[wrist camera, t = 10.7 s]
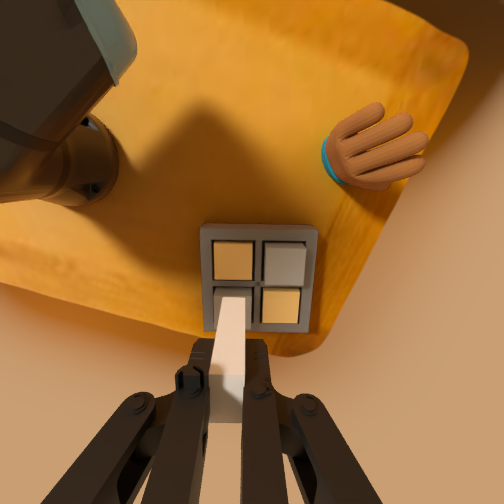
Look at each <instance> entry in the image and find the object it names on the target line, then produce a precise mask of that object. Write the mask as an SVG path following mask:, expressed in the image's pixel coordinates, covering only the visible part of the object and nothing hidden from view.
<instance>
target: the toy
mask: <svg viewBox="0 0 504 504" xmlns="http://www.w3.org/2000/svg"><path fill="white" fill-rule="evenodd" d="M384 113H385V111H384V107H383V105H382V104H381V103H378V102H375V103H372V104H370V105H368V106H366V107H364V108H363V109H361V110H359V111H357V112H356V113H354V114H352V115H350V116H349V117H347V118H345V119H344V120H342V121H341V122H339V123H338V124H337V125H336V126H335V127H334V129H333V130H332V131H331V133H330V135H329V136H328V137H327V138H326V139H325V141H324V142H323V145H322V153H321V154H322V161H323V165H324V167H325V169H326V171H327V173H328V174H329V176H330V177H331V178H332V179H333V180H334V181H336V182H338V183H341V184H351V185H354V186H357V187H360V188H363V189H367V190H371V191H384V190H386V189H387V188H388V187H389V186H390V183H391V182H394V181H398V180H401V179H405V178H408V177H411V176H413V175H415V174H417V173H419V172H420V171H421V170H422V169H423V168H424V166H425V159H424V157H423V156H421V155H414V154H416V153H418V152H420V151H422V150H423V149H424V148H425V147H426V146H427V144H428V142H429V140H428V136H427V134H426V133H424V132H415V133H412V134H409V135H407V136H404V137H402V138H400V139H397V140H395V141H393V142H390V143H388V144H385V145H383V146H380V147H378V148H375V149H372V150H370V151H366V150H368V149H371V148H373V147H376V146H378V145H381V144H383V143H386V142H388V141H390V140H393V139H395V138H397V137H399V136H401V135H403V134H405V133H406V132H407V131H409V130H410V128H411V127H412V125H413V119H412V117H411V115H410V114H408V113H401V114H398V115H396V116H394V117H392V118H390V119H388V120H386V121H384V122H382V123H380V124H378V125H376V126H374V127H372V128H370V129H368V130H365V131H363V132H361V133H359V134H358V132H360V131H362V130H364V129H366V128H368V127H370V126H372V125H374V124H376V123H377V122H379V121H380V120H381V119H382V118H383V116H384ZM411 155H412V156H411ZM403 158H404V159H403ZM398 160H399V161H398ZM395 161H396V162H395ZM392 162H393V163H392ZM389 163H390V164H389ZM386 164H387V165H386ZM383 165H384V166H383ZM380 166H381V167H380Z"/></svg>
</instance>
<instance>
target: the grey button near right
mask: <svg viewBox="0 0 504 504" xmlns="http://www.w3.org/2000/svg"><path fill="white" fill-rule="evenodd" d="M305 260H306V247H305V246H304V245H303V243H302V242H291V241H265V244H264V272H263V276H264V283H265V285H297V286H303V282H304V271H305Z"/></svg>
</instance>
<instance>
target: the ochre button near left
mask: <svg viewBox="0 0 504 504" xmlns="http://www.w3.org/2000/svg"><path fill="white" fill-rule="evenodd" d="M214 270H215V279H224V280H252V240H215V242H214Z"/></svg>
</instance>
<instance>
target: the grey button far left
mask: <svg viewBox="0 0 504 504" xmlns="http://www.w3.org/2000/svg"><path fill="white" fill-rule="evenodd" d="M213 297H214V329H217V326H218V320H219V315H220V309H221V303H222V298H223V297H240V298H245V329H251V301H252V290H251V287H236V286H216V289H215V292H214V296H213Z"/></svg>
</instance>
